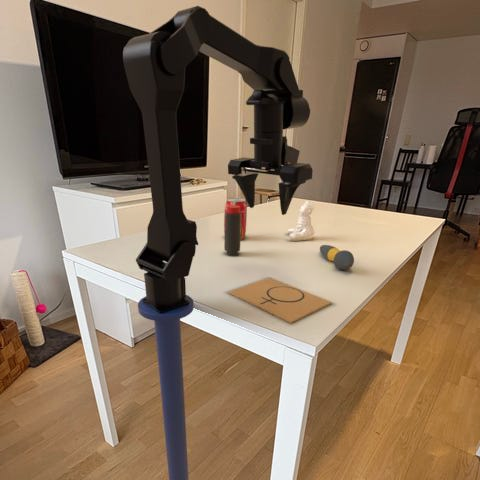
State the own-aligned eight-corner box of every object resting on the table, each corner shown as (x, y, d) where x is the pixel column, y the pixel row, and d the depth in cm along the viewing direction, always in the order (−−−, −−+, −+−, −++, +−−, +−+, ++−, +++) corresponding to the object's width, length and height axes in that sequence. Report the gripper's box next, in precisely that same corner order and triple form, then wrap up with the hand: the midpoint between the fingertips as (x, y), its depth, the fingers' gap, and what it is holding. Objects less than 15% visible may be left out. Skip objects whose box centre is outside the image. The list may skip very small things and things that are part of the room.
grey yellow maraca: (308, 251, 101) (311, 235, 98) (324, 251, 102) (327, 234, 100) (342, 276, 84) (346, 257, 82) (360, 275, 85) (364, 256, 83)
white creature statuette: (287, 233, 119) (291, 197, 113) (312, 235, 118) (317, 199, 112) (288, 241, 110) (292, 202, 105) (315, 242, 110) (320, 204, 104)
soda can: (219, 237, 111) (219, 198, 106) (235, 233, 116) (236, 196, 110) (233, 242, 107) (235, 202, 101) (250, 238, 111) (252, 200, 105)
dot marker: (231, 257, 94) (232, 208, 87) (221, 253, 96) (221, 205, 90) (243, 254, 96) (245, 206, 90) (232, 250, 99) (233, 204, 93)
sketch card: (290, 323, 62) (291, 321, 62) (228, 293, 73) (228, 291, 73) (331, 303, 70) (331, 301, 70) (269, 279, 81) (270, 277, 81)
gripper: (331, 129, 67) (323, 209, 76) (258, 127, 78) (258, 197, 87) (298, 134, 61) (293, 222, 69) (224, 131, 72) (228, 207, 80)
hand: (267, 210), depth 76 cm, fingers open, 9 cm apart
